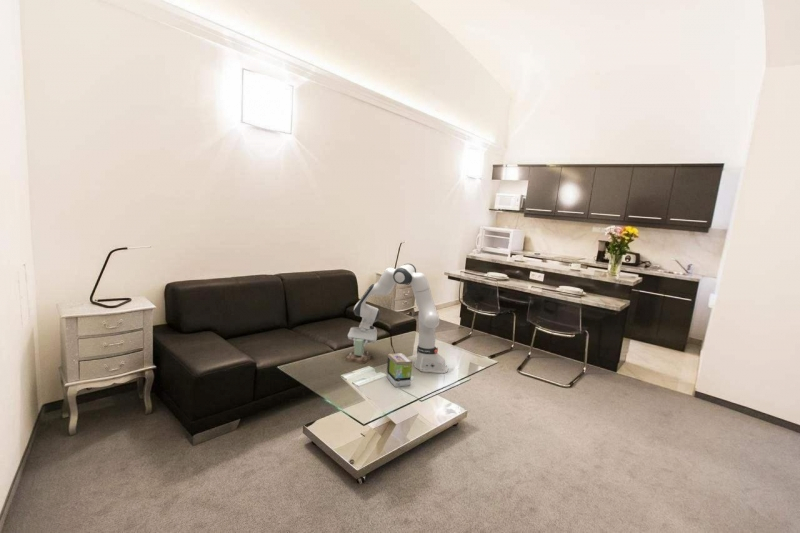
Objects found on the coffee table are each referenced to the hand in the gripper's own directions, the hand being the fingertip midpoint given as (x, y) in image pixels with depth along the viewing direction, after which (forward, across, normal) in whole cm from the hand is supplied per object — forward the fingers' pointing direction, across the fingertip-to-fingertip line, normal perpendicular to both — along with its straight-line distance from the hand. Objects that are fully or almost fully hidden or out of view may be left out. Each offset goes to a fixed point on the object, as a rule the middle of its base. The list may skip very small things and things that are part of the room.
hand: (359, 346), depth 246 cm
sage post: (+4, 0, +5) cm, 6 cm away
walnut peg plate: (+6, 0, +7) cm, 9 cm away
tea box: (+23, +35, -10) cm, 43 cm away
